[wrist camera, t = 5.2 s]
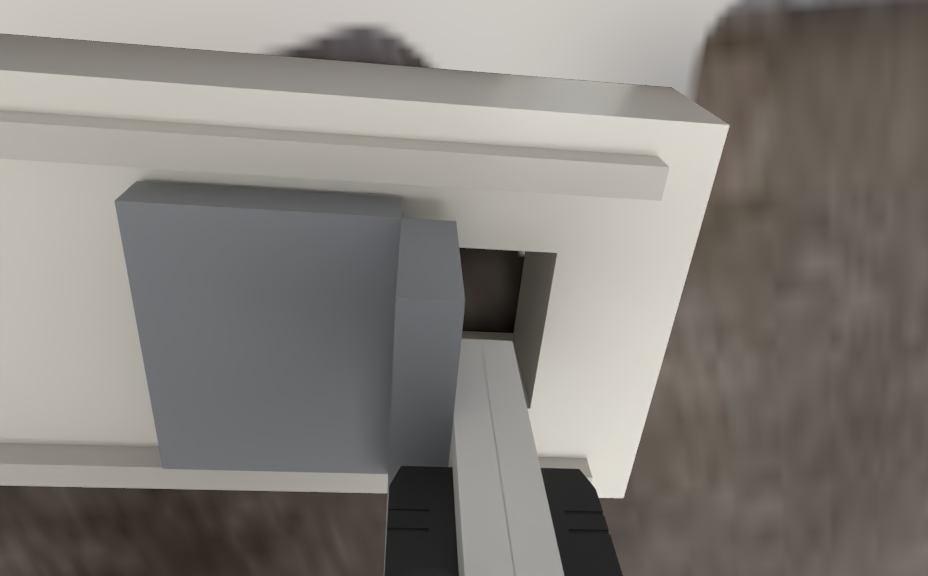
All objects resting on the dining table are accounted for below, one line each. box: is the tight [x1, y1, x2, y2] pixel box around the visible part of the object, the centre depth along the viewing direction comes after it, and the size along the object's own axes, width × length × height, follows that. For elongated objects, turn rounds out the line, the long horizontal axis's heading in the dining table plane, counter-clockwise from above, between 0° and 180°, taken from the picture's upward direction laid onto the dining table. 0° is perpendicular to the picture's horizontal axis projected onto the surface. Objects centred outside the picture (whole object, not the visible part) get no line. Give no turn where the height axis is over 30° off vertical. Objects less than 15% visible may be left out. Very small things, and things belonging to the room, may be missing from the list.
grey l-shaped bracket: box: [114, 181, 465, 572], centre depth 15 cm, size 7×8×5 cm
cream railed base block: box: [0, 34, 730, 498], centre depth 19 cm, size 19×12×5 cm, turn 85°
